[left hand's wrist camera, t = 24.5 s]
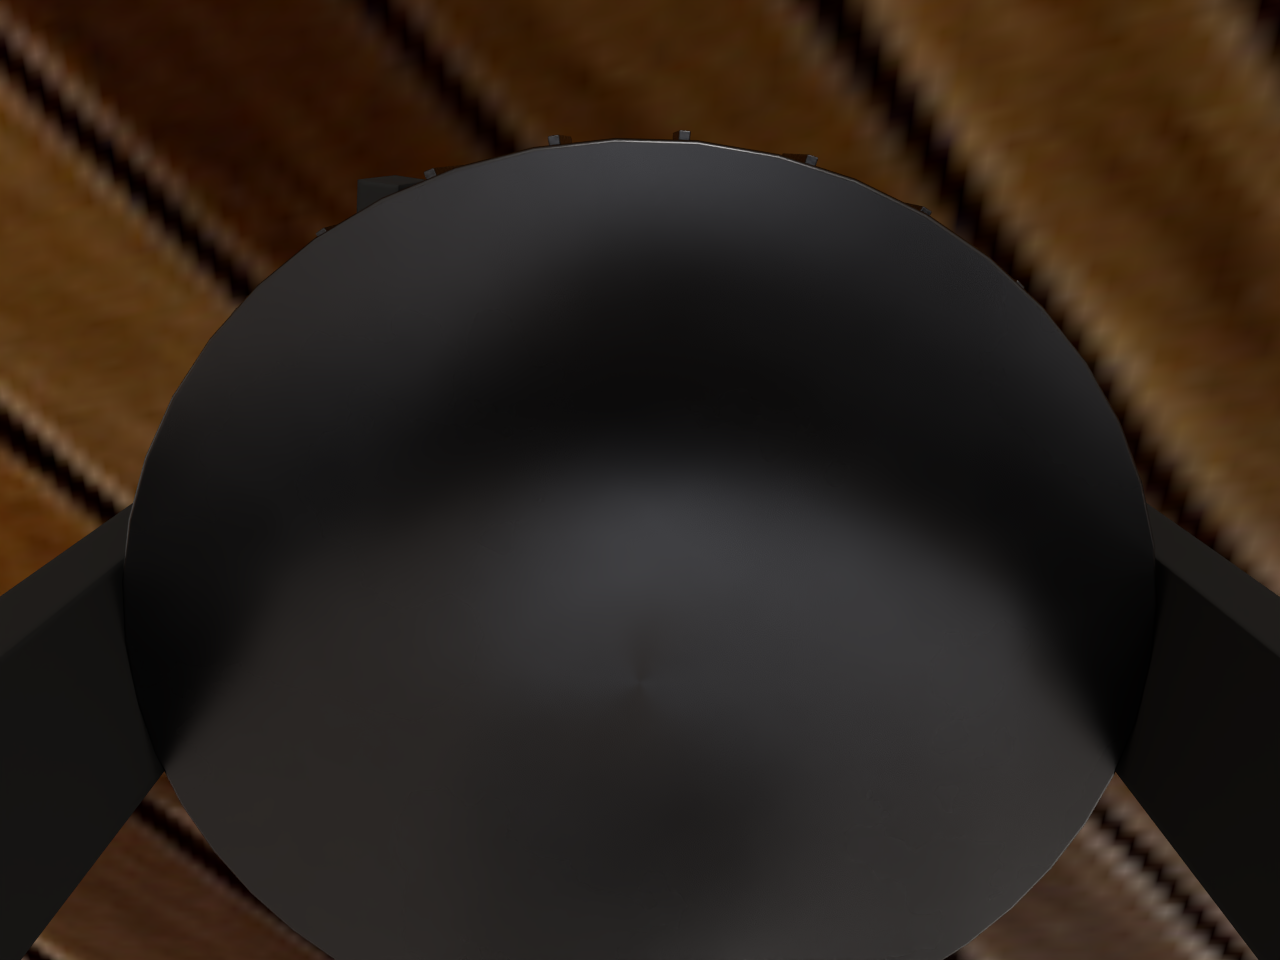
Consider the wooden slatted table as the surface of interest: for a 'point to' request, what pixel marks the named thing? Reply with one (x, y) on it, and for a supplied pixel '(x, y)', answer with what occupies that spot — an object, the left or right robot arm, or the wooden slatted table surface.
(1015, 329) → the lid
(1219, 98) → the wooden slatted table surface
